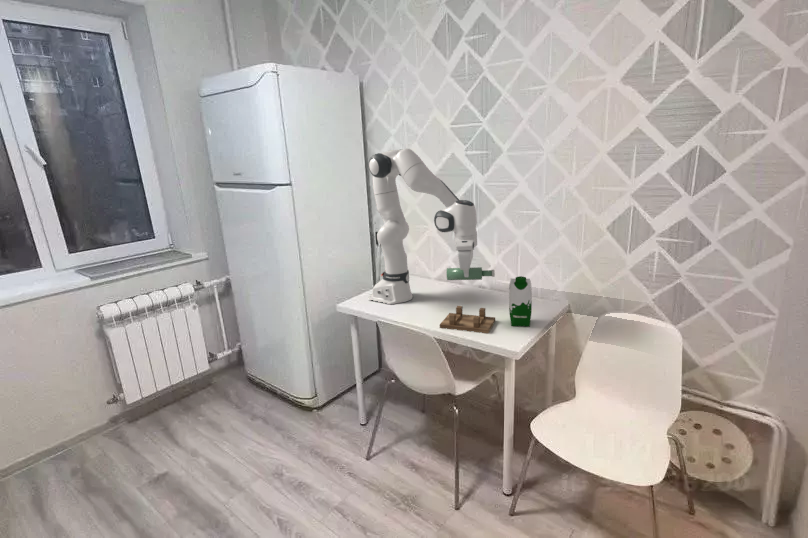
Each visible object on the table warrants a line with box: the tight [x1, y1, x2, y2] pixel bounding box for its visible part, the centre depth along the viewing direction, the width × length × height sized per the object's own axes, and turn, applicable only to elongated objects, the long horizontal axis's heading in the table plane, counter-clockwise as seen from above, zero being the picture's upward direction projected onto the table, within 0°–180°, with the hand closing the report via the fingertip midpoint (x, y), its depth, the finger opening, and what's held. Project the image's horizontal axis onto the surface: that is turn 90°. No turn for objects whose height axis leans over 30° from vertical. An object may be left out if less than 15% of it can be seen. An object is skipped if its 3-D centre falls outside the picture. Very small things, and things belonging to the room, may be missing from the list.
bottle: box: [446, 266, 496, 281], centre depth 170 cm, size 19×5×5 cm
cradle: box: [439, 305, 496, 334], centre depth 172 cm, size 13×20×6 cm, turn 66°
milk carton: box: [508, 275, 533, 328], centre depth 168 cm, size 9×9×20 cm
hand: (467, 274), depth 170 cm, fingers closed on bottle, 5 cm apart
